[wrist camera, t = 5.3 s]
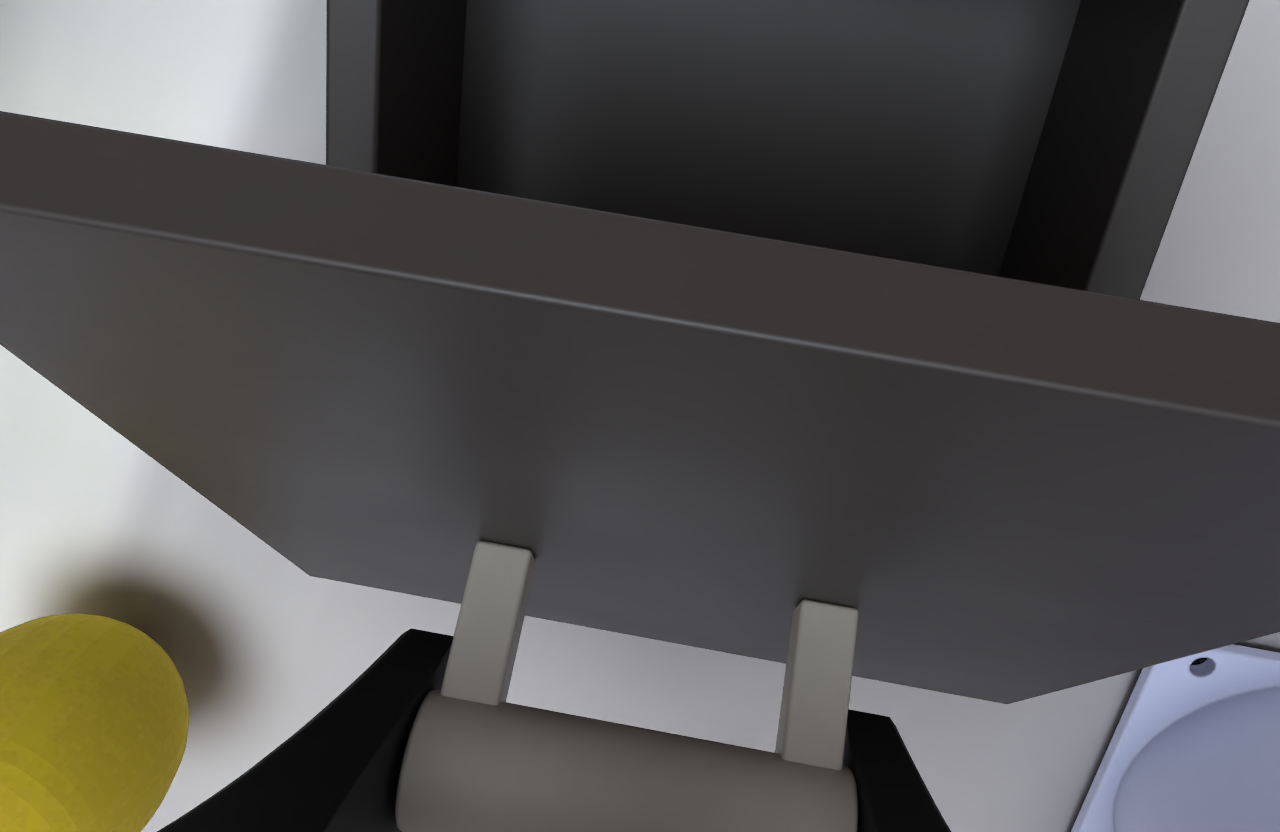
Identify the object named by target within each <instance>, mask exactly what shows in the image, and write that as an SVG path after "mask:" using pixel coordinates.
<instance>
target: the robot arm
mask: <svg viewBox="0 0 1280 832" xmlns="http://www.w3.org/2000/svg"><path fill="white" fill-rule="evenodd" d="M453 637H454V636H449V635H443V634H438V633H432V632H427V631H421V630H416V629H410V630H408V631H406V632H405V633H403V634H402V635H401V636H400V637H399V638H398V639H397V640H396V641H395V642H394V643H393V644H392V645H391V646H390V647H389V648H388V649H387V650H386V651H385V652H384V653H383V654H382V655H381V656H380V657H379V658H378V659H377V660H376V661H375V662H374V663H373V664H372V665H371V666H370V667H369V668H368V669H367V670H366V671H365V672H364V673H363V674H362V675H360V676H359V677H358V678H357V679H356V680H355V681H354V682H353V683H352V684H351V685H350V686H349V687H348V688H347V689H345V690H344V691H343V692H342V693H341V694H340V695H339V696H338V697H337V698H335V699H334V700H333V701H332V702H331V703H330V704H329V705H327V706H326V707H325V708H324V709H323V710H322V711H321V712H319V713H318V714H317V715H316V716H315V717H314V718H313V719H312V720H310V721H309V722H308V723H307V724H306V725H305V726H303V727H302V728H301V729H300V730H299V731H297V732H296V733H295V734H294V735H293V736H291V737H290V738H289V739H288V740H286V741H285V742H284V743H282V744H281V745H280V746H279V747H277V748H276V749H275V750H274V751H272V752H271V753H270V754H268V755H267V756H266V757H265V758H263V759H262V760H261V761H260V762H258V763H257V764H256V765H255V766H253V767H252V768H251V769H249V770H248V771H247V772H245V773H244V774H243V775H241V776H240V777H239V778H237V779H236V780H234V781H233V782H232V783H230V784H229V785H227V786H226V787H225V788H223V789H222V790H220V791H219V792H218V793H216V794H215V795H213V796H212V797H210V798H209V799H207V800H206V801H204V802H203V803H201V804H200V805H198V806H197V807H195V808H194V809H192V810H191V811H189V812H188V813H186V814H185V815H183V816H182V817H180V818H179V819H177V820H175V821H174V822H172V823H170V824H169V825H167V826H165V827H164V828H162V829H161V830H159V831H157V832H402V831H400V830H399V829H398V828H397V825H396V818H395V803H396V793H397V786H398V780H399V774H400V769H401V765H402V760H403V756H404V752H405V748H406V745H407V741H408V738H409V734H410V731H411V728H412V725H413V723H414V720H415V717H416V715H417V712H418V710H419V708H420V706H421V704H422V702H423V700H424V699H425V697H426V696H427V694H428V693H429V692H430V691H432V690H436V689H437V690H441V687H442V683H443V679H444V675H445V671H446V667H447V662H448V658H449V654H450V650H451V646H452V642H453ZM1198 658H1208V659H1207V660H1206V661H1205V662H1204V663H1202V664H1199V665H1190V664H1191V663H1192V662H1193V661H1194V660H1196V659H1198ZM842 766H846V767H848V768H850V769H851V770H852V772H853V773H854V776H855V781H856V786H857V793H858V831H857V832H951V831H950V829H949V827H948V826H947V824H946V822H945V820H944V819H943V817H942V815H941V813H940V811H939V810H938V808H937V806H936V804H935V802H934V800H933V799H932V797H931V795H930V793H929V791H928V789H927V787H926V785H925V784H924V782H923V780H922V778H921V776H920V774H919V772H918V770H917V768H916V766H915V764H914V762H913V760H912V758H911V756H910V754H909V752H908V750H907V748H906V746H905V744H904V742H903V740H902V738H901V736H900V734H899V732H898V730H897V728H896V726H895V724H894V723H893V722H892V720H891V719H890V717H886V716H881V715H876V714H870V713H865V712H859V711H854V710H848V717H847V727H846V736H845V746H844V755H843V765H842ZM1071 832H1280V653H1279V652H1273V651H1267V650H1262V649H1256V648H1251V647H1245V646H1240V645H1234V644H1232V645H1228V646H1224V647H1220V648H1216V649H1213V650H1209V651H1205V652H1201V653H1198V654H1194V655H1190V656H1186V657H1183V658H1179V659H1175V660H1171V661H1168V662H1164V663H1160V664H1156V665H1153V666H1149V667H1145V668H1143V669H1142V672H1141V674H1140V676H1139V678H1138V681H1137V683H1136V685H1135V687H1134V690H1133V692H1132V694H1131V696H1130V699H1129V701H1128V703H1127V706H1126V708H1125V710H1124V712H1123V715H1122V717H1121V719H1120V721H1119V724H1118V726H1117V728H1116V730H1115V733H1114V735H1113V737H1112V740H1111V742H1110V744H1109V746H1108V749H1107V751H1106V753H1105V755H1104V758H1103V760H1102V762H1101V764H1100V767H1099V769H1098V771H1097V774H1096V776H1095V778H1094V780H1093V783H1092V785H1091V787H1090V789H1089V792H1088V794H1087V796H1086V798H1085V801H1084V803H1083V805H1082V808H1081V810H1080V812H1079V814H1078V817H1077V819H1076V821H1075V823H1074V826H1073V828H1072V830H1071Z"/></svg>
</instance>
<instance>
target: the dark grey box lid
mask: <svg viewBox="0 0 1280 832" xmlns="http://www.w3.org/2000/svg"><path fill="white" fill-rule="evenodd" d="M0 344H1V345H2V346H3V347H5V348H6V349H7V350H9V351H10V352H11V353H13V354H14V355H15V356H17V357H18V358H19V359H21V360H22V361H23V362H25V363H26V364H27V365H29V366H30V367H31V368H33V369H34V370H35V371H37V372H38V373H39V374H41V375H42V376H43V377H45V378H46V379H47V380H49V381H50V382H51V383H53V384H54V385H55V386H57V387H58V388H59V389H61V390H62V391H63V392H65V393H66V394H67V395H69V396H70V397H71V398H73V399H74V400H76V401H77V402H78V403H80V404H81V405H82V406H84V407H85V408H86V409H88V410H89V411H90V412H92V413H93V414H94V415H96V416H97V417H98V418H100V419H101V420H102V421H104V422H105V423H106V424H108V425H109V426H110V427H112V428H113V429H114V430H116V431H117V432H118V433H120V434H121V435H122V436H124V437H125V438H126V439H128V440H129V441H130V442H132V443H133V444H134V445H136V446H137V447H138V448H140V449H141V450H142V451H144V452H145V453H146V454H148V455H149V456H150V457H152V458H153V459H154V460H156V461H157V462H158V463H160V464H161V465H162V466H164V467H165V468H166V469H168V470H169V471H170V472H172V473H173V474H174V475H176V476H177V477H178V478H180V479H181V480H183V481H184V482H185V483H187V484H188V485H189V486H191V487H192V488H193V489H195V490H196V491H197V492H199V493H200V494H201V495H203V496H204V497H205V498H207V499H208V500H209V501H211V502H212V503H213V504H215V505H216V506H217V507H219V508H220V509H221V510H223V511H224V512H225V513H227V514H228V515H229V516H231V517H232V518H233V519H235V520H236V521H237V522H239V523H240V524H241V525H243V526H244V527H245V528H247V529H248V530H249V531H251V532H252V533H253V534H255V535H256V536H257V537H259V538H260V539H261V540H263V541H264V542H265V543H267V544H268V545H269V546H271V547H272V548H273V549H275V550H276V551H277V552H279V553H280V554H281V555H283V556H284V557H285V558H287V559H288V560H290V561H291V562H292V563H294V564H295V565H296V566H298V567H299V568H300V569H302V570H303V571H304V572H306V573H307V574H308V575H310V576H314V577H319V578H325V579H330V580H336V581H341V582H347V583H352V584H357V585H363V586H368V587H374V588H379V589H385V590H390V591H395V592H401V593H406V594H412V595H417V596H423V597H428V598H433V599H439V600H444V601H450V602H455V603H461V608H460V612H459V617H458V621H457V625H456V629H455V633H454V637H453V642H452V646H451V650H450V654H449V658H448V662H447V667H446V671H445V675H444V679H443V683H442V687H441V690H437V689H436V690H432V691H430V692H429V693H428V694H427V696H426V697H425V699H424V700H423V702H422V704H421V706H420V708H419V710H418V712H417V715H416V717H415V720H414V723H413V725H412V728H411V731H410V734H409V738H408V741H407V745H406V748H405V752H404V756H403V760H402V765H401V769H400V774H399V780H398V786H397V793H396V803H395V818H396V825H397V828H398V829H399V830H400V831H402V832H857V831H858V793H857V786H856V781H855V776H854V773H853V772H852V770H851V769H850V768H848V767H846V766H842V765H843V755H844V746H845V736H846V727H847V717H848V708H849V698H850V689H851V679H852V676H857V677H862V678H868V679H873V680H879V681H884V682H890V683H895V684H900V685H906V686H911V687H917V688H922V689H928V690H933V691H939V692H944V693H949V694H955V695H960V696H966V697H971V698H977V699H982V700H987V701H993V702H998V703H1004V704H1010V703H1014V702H1017V701H1021V700H1025V699H1029V698H1032V697H1036V696H1040V695H1044V694H1047V693H1051V692H1055V691H1059V690H1062V689H1066V688H1070V687H1074V686H1077V685H1081V684H1085V683H1089V682H1092V681H1096V680H1100V679H1104V678H1108V677H1111V676H1115V675H1119V674H1123V673H1126V672H1130V671H1134V670H1138V669H1141V668H1145V667H1149V666H1153V665H1156V664H1160V663H1164V662H1168V661H1171V660H1175V659H1179V658H1183V657H1186V656H1190V655H1194V654H1198V653H1201V652H1205V651H1209V650H1213V649H1216V648H1220V647H1224V646H1228V645H1232V644H1235V643H1239V642H1243V641H1247V640H1250V639H1254V638H1258V637H1262V636H1265V635H1269V634H1273V633H1277V632H1280V323H1275V322H1269V321H1263V320H1257V319H1251V318H1245V317H1239V316H1233V315H1227V314H1221V313H1215V312H1209V311H1203V310H1197V309H1190V308H1184V307H1178V306H1172V305H1166V304H1160V303H1154V302H1148V301H1142V300H1136V299H1130V298H1124V297H1118V296H1112V295H1106V294H1100V293H1094V292H1088V291H1082V290H1076V289H1070V288H1064V287H1058V286H1052V285H1046V284H1040V283H1034V282H1028V281H1022V280H1016V279H1009V278H1003V277H997V276H991V275H985V274H979V273H973V272H967V271H961V270H955V269H949V268H943V267H937V266H931V265H925V264H919V263H913V262H907V261H901V260H895V259H889V258H883V257H877V256H871V255H865V254H859V253H853V252H847V251H841V250H835V249H828V248H822V247H816V246H810V245H804V244H798V243H792V242H786V241H780V240H774V239H768V238H762V237H756V236H750V235H744V234H738V233H732V232H726V231H720V230H714V229H708V228H702V227H696V226H690V225H684V224H678V223H672V222H666V221H660V220H654V219H647V218H641V217H635V216H629V215H623V214H617V213H611V212H605V211H599V210H593V209H587V208H581V207H575V206H569V205H563V204H557V203H551V202H545V201H539V200H533V199H527V198H521V197H515V196H509V195H503V194H497V193H491V192H485V191H479V190H473V189H466V188H460V187H454V186H448V185H442V184H436V183H430V182H424V181H418V180H412V179H406V178H400V177H394V176H388V175H382V174H376V173H370V172H364V171H358V170H352V169H346V168H340V167H334V166H328V165H322V164H316V163H310V162H304V161H298V160H292V159H285V158H279V157H273V156H267V155H261V154H255V153H249V152H243V151H237V150H231V149H225V148H219V147H213V146H207V145H201V144H195V143H189V142H183V141H177V140H171V139H165V138H159V137H153V136H147V135H141V134H135V133H129V132H123V131H117V130H111V129H105V128H98V127H92V126H86V125H80V124H74V123H68V122H62V121H56V120H50V119H44V118H38V117H32V116H26V115H20V114H14V113H8V112H2V111H0ZM524 615H526V616H531V617H537V618H542V619H547V620H553V621H558V622H564V623H569V624H575V625H580V626H585V627H591V628H596V629H602V630H607V631H613V632H618V633H623V634H629V635H634V636H640V637H645V638H651V639H656V640H662V641H667V642H672V643H678V644H683V645H689V646H694V647H700V648H705V649H710V650H716V651H721V652H727V653H732V654H738V655H743V656H748V657H754V658H759V659H765V660H770V661H776V662H781V663H786V672H785V679H784V687H783V695H782V703H781V711H780V719H779V727H778V734H777V742H776V750H775V753H772V752H767V751H761V750H756V749H751V748H745V747H740V746H735V745H729V744H724V743H719V742H714V741H708V740H703V739H698V738H692V737H687V736H682V735H676V734H671V733H666V732H660V731H655V730H650V729H644V728H639V727H634V726H628V725H623V724H618V723H613V722H607V721H602V720H597V719H591V718H586V717H581V716H575V715H570V714H565V713H559V712H554V711H549V710H543V709H538V708H533V707H527V706H522V705H517V704H512V703H506V698H507V693H508V689H509V684H510V680H511V675H512V670H513V666H514V661H515V657H516V652H517V647H518V643H519V638H520V634H521V629H522V625H523V620H524Z"/></svg>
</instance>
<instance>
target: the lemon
mask: <svg viewBox="0 0 1280 832" xmlns="http://www.w3.org/2000/svg"><path fill="white" fill-rule="evenodd" d="M188 722H189V706H188V702H187V697H186V693H185V688H184V684H183V680H182V678H181V676H180V674H179V673H178V671H177V669H176V667H175V665H174V663H173V661H172V660H171V658H170V657H169V656H168V655H167V653H166V652H165V651H164V650H163V649H162V647H161V646H160V645H159V644H158V643H156V642H155V641H154V640H153V639H152V638H150V637H149V636H148V635H147V634H145V633H144V632H142V631H140V630H138V629H136V628H135V627H133V626H131V625H129V624H127V623H124V622H121V621H118V620H115V619H112V618H108V617H105V616H98V615H90V614H63V615H53V616H47V617H41V618H37V619H34V620H31V621H28V622H26V623H23V624H20V625H18V626H15V627H13V628H10V629H7V630H5V631H3V632H1V633H0V832H141V830H142V829H143V828H144V827H145V826H146V824H147V823H148V822H149V820H150V819H151V818H152V817H153V815H154V814H155V812H156V810H157V809H158V807H159V806H160V804H161V803H162V801H163V799H164V797H165V795H166V793H167V791H168V789H169V787H170V785H171V783H172V781H173V779H174V777H175V774H176V772H177V770H178V768H179V765H180V763H181V761H182V757H183V754H184V751H185V747H186V741H187V734H188Z"/></svg>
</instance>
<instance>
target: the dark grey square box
mask: <svg viewBox="0 0 1280 832" xmlns="http://www.w3.org/2000/svg"><path fill="white" fill-rule="evenodd" d="M1248 2H1249V0H327V75H326V165H328V166H334V167H340V168H346V169H352V170H358V171H364V172H370V173H376V174H382V175H388V176H394V177H400V178H406V179H412V180H418V181H424V182H430V183H436V184H442V185H448V186H454V187H460V188H466V189H473V190H479V191H485V192H491V193H497V194H503V195H509V196H515V197H521V198H527V199H533V200H539V201H545V202H551V203H557V204H563V205H569V206H575V207H581V208H587V209H593V210H599V211H605V212H611V213H617V214H623V215H629V216H635V217H641V218H647V219H654V220H660V221H666V222H672V223H678V224H684V225H690V226H696V227H702V228H708V229H714V230H720V231H726V232H732V233H738V234H744V235H750V236H756V237H762V238H768V239H774V240H780V241H786V242H792V243H798V244H804V245H810V246H816V247H822V248H828V249H835V250H841V251H847V252H853V253H859V254H865V255H871V256H877V257H883V258H889V259H895V260H901V261H907V262H913V263H919V264H925V265H931V266H937V267H943V268H949V269H955V270H961V271H967V272H973V273H979V274H985V275H991V276H997V277H1003V278H1009V279H1016V280H1022V281H1028V282H1034V283H1040V284H1046V285H1052V286H1058V287H1064V288H1070V289H1076V290H1082V291H1088V292H1094V293H1100V294H1106V295H1112V296H1118V297H1124V298H1130V299H1136V300H1139V299H1140V297H1141V294H1142V291H1143V289H1144V286H1145V283H1146V280H1147V278H1148V275H1149V272H1150V269H1151V267H1152V264H1153V261H1154V259H1155V256H1156V253H1157V250H1158V248H1159V245H1160V242H1161V240H1162V237H1163V234H1164V231H1165V229H1166V226H1167V223H1168V220H1169V218H1170V215H1171V212H1172V210H1173V207H1174V204H1175V201H1176V199H1177V196H1178V193H1179V190H1180V188H1181V185H1182V182H1183V180H1184V177H1185V174H1186V171H1187V169H1188V166H1189V163H1190V160H1191V158H1192V155H1193V152H1194V150H1195V147H1196V144H1197V141H1198V139H1199V136H1200V133H1201V131H1202V128H1203V125H1204V122H1205V120H1206V117H1207V114H1208V111H1209V109H1210V106H1211V103H1212V101H1213V98H1214V95H1215V92H1216V90H1217V87H1218V84H1219V81H1220V79H1221V76H1222V73H1223V71H1224V68H1225V65H1226V62H1227V60H1228V57H1229V54H1230V52H1231V49H1232V46H1233V43H1234V41H1235V38H1236V35H1237V32H1238V30H1239V27H1240V24H1241V22H1242V19H1243V16H1244V13H1245V11H1246V8H1247V5H1248Z"/></svg>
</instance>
